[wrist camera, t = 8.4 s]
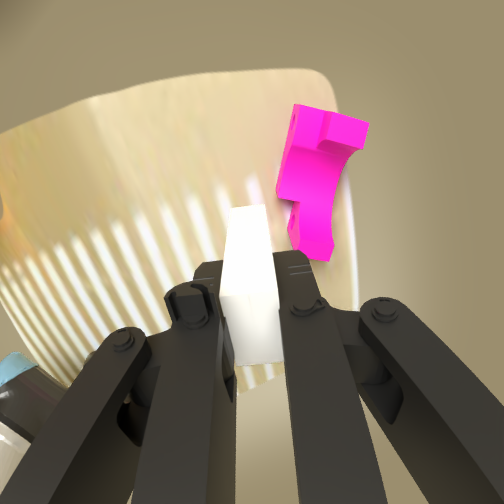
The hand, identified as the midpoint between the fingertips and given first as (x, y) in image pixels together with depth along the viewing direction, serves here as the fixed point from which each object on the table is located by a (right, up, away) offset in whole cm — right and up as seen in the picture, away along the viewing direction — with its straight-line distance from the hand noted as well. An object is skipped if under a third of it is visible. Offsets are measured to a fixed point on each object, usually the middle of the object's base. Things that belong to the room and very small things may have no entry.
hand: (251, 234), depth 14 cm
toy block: (+6, +9, +21) cm, 24 cm away
